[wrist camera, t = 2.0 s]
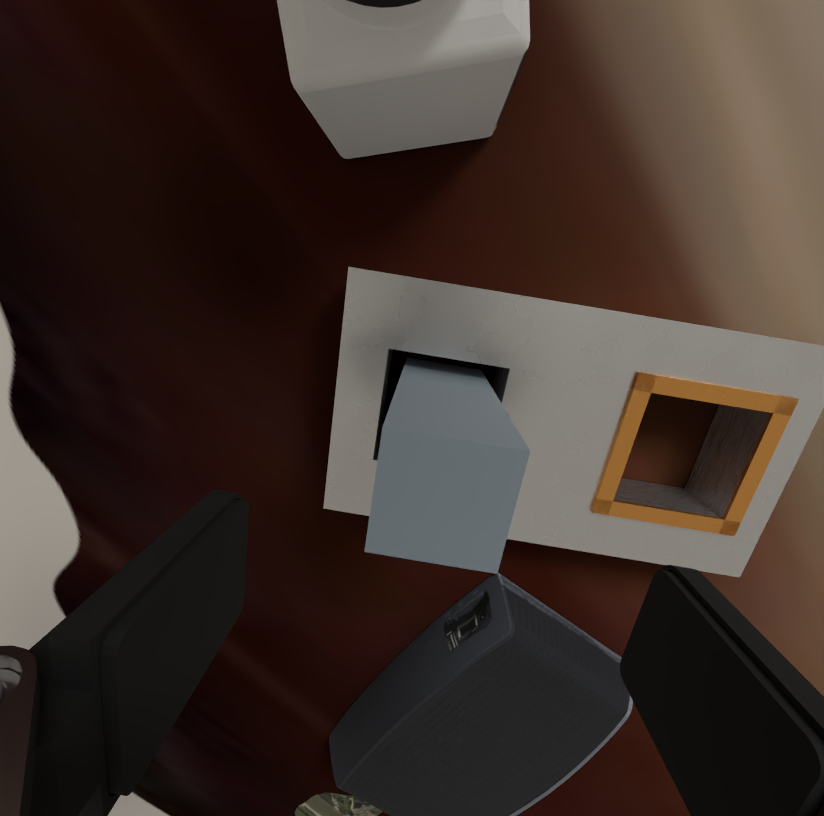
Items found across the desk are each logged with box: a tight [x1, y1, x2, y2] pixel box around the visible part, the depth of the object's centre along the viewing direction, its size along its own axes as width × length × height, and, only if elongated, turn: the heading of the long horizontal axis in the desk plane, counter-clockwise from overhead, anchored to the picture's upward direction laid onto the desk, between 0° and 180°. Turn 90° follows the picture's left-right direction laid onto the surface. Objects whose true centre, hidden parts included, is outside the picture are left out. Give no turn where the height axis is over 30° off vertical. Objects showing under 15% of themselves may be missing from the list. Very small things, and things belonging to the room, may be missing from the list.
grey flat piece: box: [323, 267, 824, 577], centre depth 20 cm, size 12×22×3 cm, turn 81°
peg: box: [364, 357, 530, 574], centre depth 16 cm, size 4×4×11 cm
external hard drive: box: [329, 573, 633, 816], centre depth 26 cm, size 13×19×4 cm
